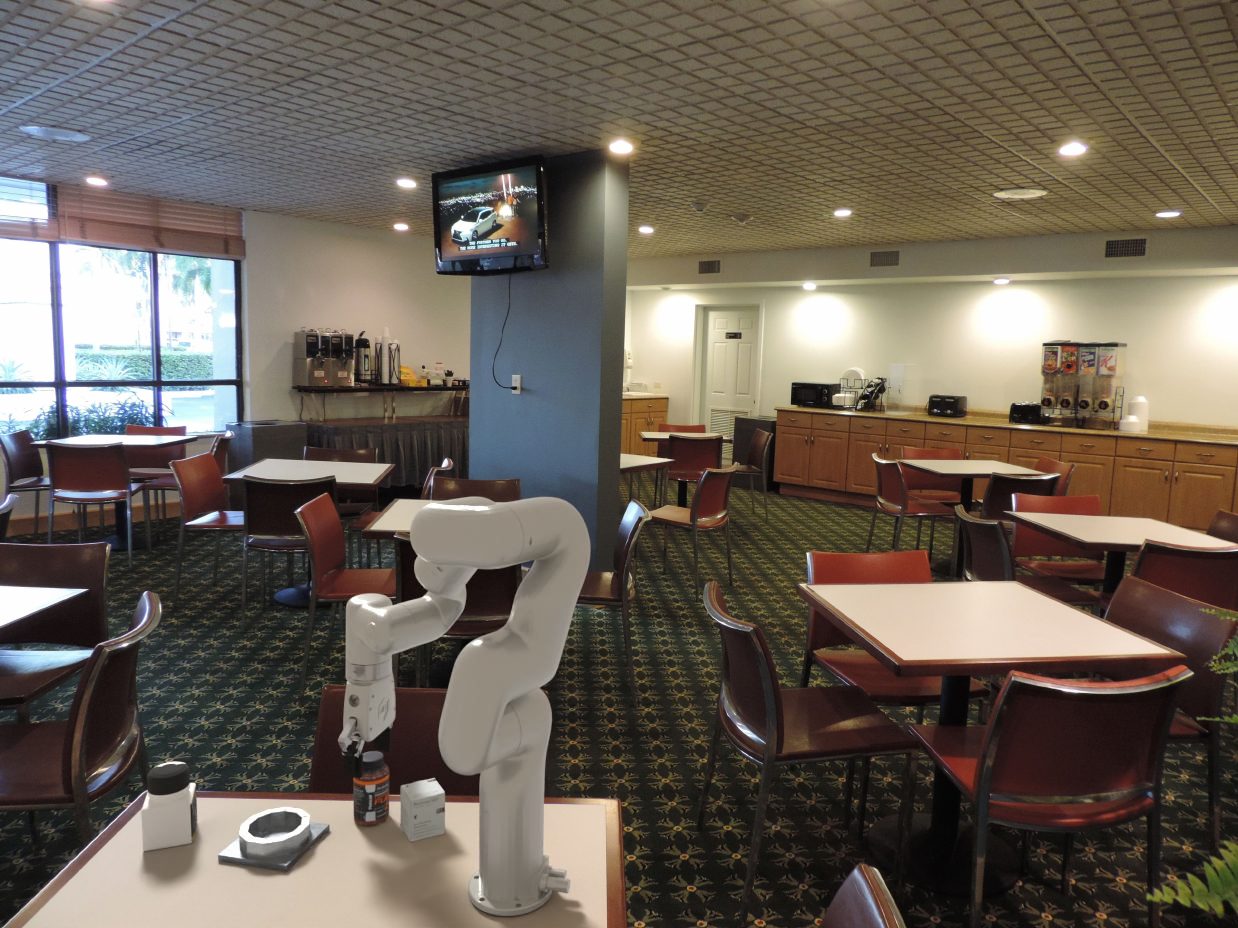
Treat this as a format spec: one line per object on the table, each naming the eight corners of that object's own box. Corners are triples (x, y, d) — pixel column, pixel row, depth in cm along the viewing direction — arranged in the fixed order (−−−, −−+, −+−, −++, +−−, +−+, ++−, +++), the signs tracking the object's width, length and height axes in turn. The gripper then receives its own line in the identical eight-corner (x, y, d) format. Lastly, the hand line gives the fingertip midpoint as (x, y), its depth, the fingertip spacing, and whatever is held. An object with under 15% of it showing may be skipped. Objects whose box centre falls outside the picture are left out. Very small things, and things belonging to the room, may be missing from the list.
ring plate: (329, 829, 138) (329, 809, 137) (286, 871, 126) (286, 850, 126) (266, 820, 140) (265, 800, 140) (218, 860, 128) (217, 839, 128)
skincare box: (410, 843, 134) (409, 800, 133) (399, 825, 139) (399, 784, 139) (446, 833, 137) (445, 791, 137) (434, 816, 143) (434, 776, 142)
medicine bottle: (192, 843, 133) (190, 773, 131) (142, 852, 130) (139, 780, 129) (197, 821, 139) (195, 754, 138) (149, 828, 137) (146, 760, 135)
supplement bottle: (379, 829, 138) (378, 765, 137) (346, 825, 139) (345, 761, 138) (395, 811, 144) (395, 750, 142) (364, 807, 145) (363, 746, 144)
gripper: (363, 689, 129) (362, 791, 132) (412, 652, 146) (411, 743, 148) (320, 683, 131) (320, 784, 133) (374, 647, 148) (373, 737, 150)
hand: (368, 762), depth 141 cm, fingers open, 9 cm apart
